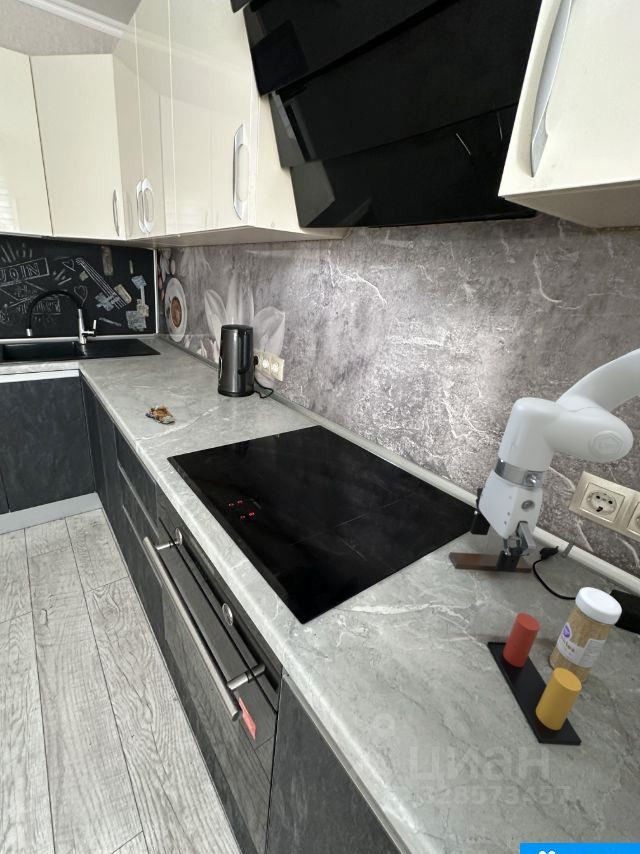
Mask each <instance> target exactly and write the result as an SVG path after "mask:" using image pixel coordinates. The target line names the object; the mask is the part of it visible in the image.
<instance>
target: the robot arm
mask: <svg viewBox="0 0 640 854" xmlns="http://www.w3.org/2000/svg"><path fill="white" fill-rule="evenodd" d="M637 396H640V347H639V348H637V349H635V350H632V351H629V352H628V353H626V354H623V355H622V356H619V357H617V358H616V359H614V360H611V361H609V362H607V363H605V364H602V365H601V366H599V367H597V368H596V369H594V370H592V371H591V372H589V373H587V374H586V375H585V376H584V377H582V378H581V379H580V380H579V381H577V382H575V384H574V385H572V386H571V387H570V388H569V389H568V390H566V391H565V392H563V394H561V396H559V398H558V399H556V401H553V400H549V399H545V398H541V397H533V396H526V397H525V396H523V397H520V398H518V399H517V400H516V401H515V402H514V403H513V405H512V408H511V410H510V414H509V417H508V419H507V423H506V426H505V430H504V433H503V436H502V439H501V441H500V445H499V448H498V451H497V454H496V457H495V460H494V464H493V467H492V469H491V471H490V473H489V475H488V476H487V479H486V481H485V484H484V486H483V487H476V499H475V506H476V507H475V509H474V518H473V521H472V524H471V527H470V531H469V533H470V534H471V535H476V536H487V535H488V533H489V531H490V527H492V528H493V529H494V530H495V532H496V533H497V534H498V536H500V537H501V538H502V540H503V542H502V543H503V550H500V552H499V554H498V555H499V558H498V560H497V563H496V566H495V569H496V570H497V571H496V572H499V571H502V572H501V573H515V572H514V571H515V569H516V567H517V564H518V562H519V559H520V556H522V557H523V558H524V557H526V556H527V557H528V556H530V554H531V553H533V552H534V551H536V549H537V545H536V544H535V541H534V538H533V534H534V532H535V530H536V526H537V523H538V521H539V517H540V513H541V507H542V503H543V495H544V490H543V489H542V487H543V484H544V482H545V479H546V476H547V473H548V472H549V468H550V467H551V464H552V461H553V458H554V455H555V452H559V453H562V454H565V455H568V456H572V457H574V458H578V459H580V460H584V461H587V462H592V463H593V462H594V463H610V462H615V461H618V460H620V459H622V458H623V457H625V456H626V455H628V454H629V453H630V451H631V449H632V447H633V446H634V435H633V433H632V431H631V429H630V427H629V426H628V425H627V423H626V422H624V421H623V420H622V419H621V418H620V417H619V418H618V416H615V415H614V414H613V413H612V411H614V410H615V409H616V408H618V407H619V406H620V405H622V404H624V403H625V402H627V401H629V400H631V399H633V398H635V397H637ZM514 533H515V535H513V534H514ZM511 540H512V541H515V545H516V546H514V547H512V541H511Z"/></svg>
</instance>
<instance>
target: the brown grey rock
mask: <svg viewBox="0 0 640 854" xmlns="http://www.w3.org/2000/svg"><path fill="white" fill-rule="evenodd" d="M168 410H169V407H168V406H165V405H161V406H159V405H156V406H154V407H152V406H149V412H145V416H146V417H147V418H149V416H151V417H154V420H155V421H156V422H157V423H161V424H169V423H171V422H176V420H175V419H174V418H173V415H172V413H171V412H170V411H168Z"/></svg>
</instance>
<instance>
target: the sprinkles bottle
mask: <svg viewBox="0 0 640 854" xmlns="http://www.w3.org/2000/svg"><path fill="white" fill-rule="evenodd" d="M574 600H575V601H574V602H575V603H574V606H573V608H572V610H571V612H570V615H569V617H568V619H567V621H566V623H565V625H564V627H563V628H562V630H561V633H560V634H559V636H558V638H557V641H556V643H555V647H554V649H553V651H552V652H551V653H550V654H549V659H548V660H549V664H550V666H551V667H552V669H553V671H554V670H555V669H556V668H564V669H566V670H568V671H570V672H572V673H573V674H574V675H575V676H576V677H577V678H578V679H579V680H580V682H581V684H583V683H584V682H585V681H586V680H587V677H588V674H589V672H590V670H591V668H592V667H593V666H594V664H595V662H596V660H597V658H598V657H599V654H600V652H601V650H602V648H603V647H604V645H605V643H606V641H607V639H608V636H609V633H610V632H611V630H612V628H613V626H615V624H617V622H618V621H619V619H620V617H621V614H622V611H623V609H622V607H621V605H620V603H619V602H618V601H617V600H616V599H615V598H614V597H613V596H612V595H610V594H609V593H607V592H606V591H603V590H601V589H599V588H595V587H590V586H589V587H588V586H586V587H582V588H580V589H579V592H577V595H576V597H575V599H574Z"/></svg>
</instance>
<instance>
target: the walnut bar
mask: <svg viewBox="0 0 640 854" xmlns="http://www.w3.org/2000/svg"><path fill="white" fill-rule="evenodd" d="M499 555H500V554H489V553H473V552H472V553H471V552H456V551H455V552H453V551H450V552H449V553H448V558H449V560H450V562H451V563H452V565H453V567H454V569H455V570H469V571H483V572H484V571H485V572H486V571H487V572H501V573H503V572H502V571H497V570H496V569H495V566H496V563H497V560H498V558H499ZM532 571H533V567H532V566H531V565H530V564H529V563H528V562H527V560H526V559H525V558H524V556H523V557H522V556H520V559H519V562H518V564H517V567H516V569H515V571H514V572H513V573H516V574H517V573H518V574H531V573H532Z"/></svg>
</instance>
